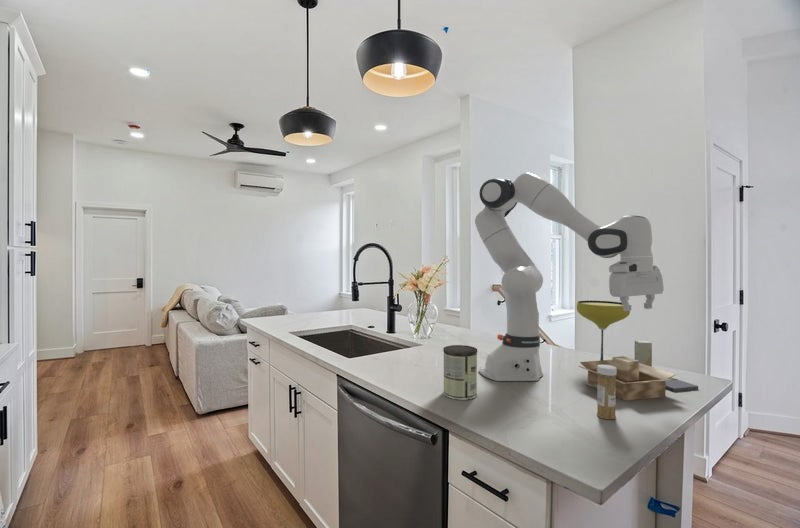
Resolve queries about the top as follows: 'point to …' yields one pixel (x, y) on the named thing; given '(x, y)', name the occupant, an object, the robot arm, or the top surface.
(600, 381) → the sprinkles bottle
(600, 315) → the cocktail glass
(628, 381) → the block
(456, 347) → the coffee can
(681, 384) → the mat
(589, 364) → the carton
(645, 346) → the box
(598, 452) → the top surface
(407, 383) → the top surface
